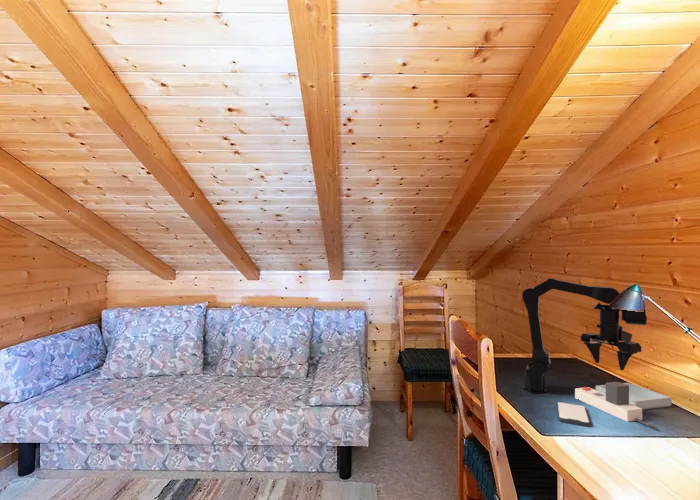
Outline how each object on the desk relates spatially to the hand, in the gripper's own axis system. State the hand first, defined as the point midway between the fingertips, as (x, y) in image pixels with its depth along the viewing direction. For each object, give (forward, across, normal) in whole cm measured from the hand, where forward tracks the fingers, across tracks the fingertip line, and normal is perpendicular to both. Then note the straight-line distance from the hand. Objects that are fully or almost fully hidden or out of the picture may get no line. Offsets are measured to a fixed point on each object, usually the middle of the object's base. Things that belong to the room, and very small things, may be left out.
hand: (609, 366), depth 133 cm
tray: (+13, 0, -11) cm, 17 cm away
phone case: (+14, -5, +22) cm, 26 cm away
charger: (+11, -7, +6) cm, 15 cm away
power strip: (+13, -7, +6) cm, 16 cm away
